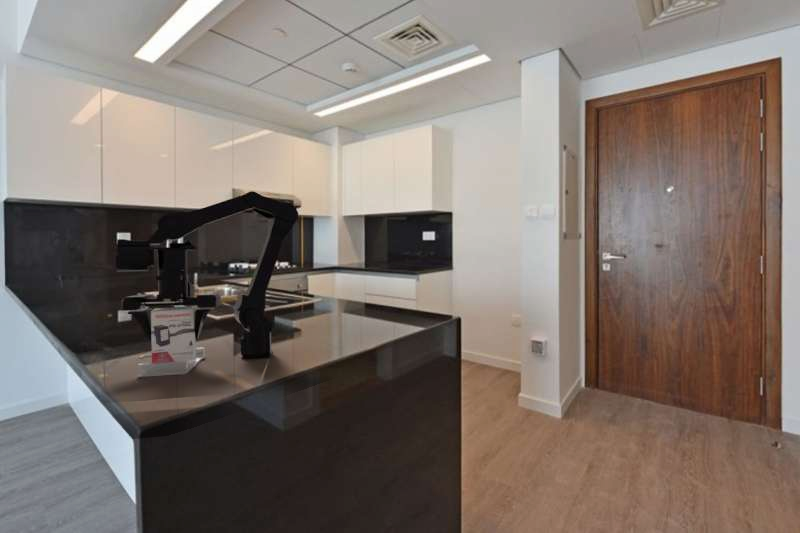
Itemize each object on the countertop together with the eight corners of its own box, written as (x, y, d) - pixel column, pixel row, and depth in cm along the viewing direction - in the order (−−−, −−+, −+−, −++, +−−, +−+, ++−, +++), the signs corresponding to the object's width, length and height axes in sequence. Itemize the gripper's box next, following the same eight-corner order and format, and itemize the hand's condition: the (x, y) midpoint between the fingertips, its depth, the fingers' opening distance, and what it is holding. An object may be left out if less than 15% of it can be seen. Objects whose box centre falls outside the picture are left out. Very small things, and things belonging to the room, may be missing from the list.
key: (166, 354, 99) (166, 352, 99) (166, 356, 97) (166, 353, 97) (139, 357, 96) (139, 355, 96) (139, 359, 94) (139, 357, 94)
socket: (204, 357, 96) (204, 347, 96) (186, 373, 82) (185, 362, 82) (163, 359, 94) (163, 349, 94) (137, 377, 80) (137, 364, 80)
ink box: (151, 365, 84) (149, 310, 84) (153, 360, 88) (152, 308, 88) (196, 360, 88) (194, 308, 87) (196, 355, 92) (194, 305, 92)
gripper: (225, 269, 97) (226, 331, 98) (141, 270, 93) (142, 335, 94) (214, 270, 87) (215, 340, 87) (119, 271, 82) (120, 345, 83)
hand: (174, 339), depth 88 cm, fingers closed on ink box, 9 cm apart
